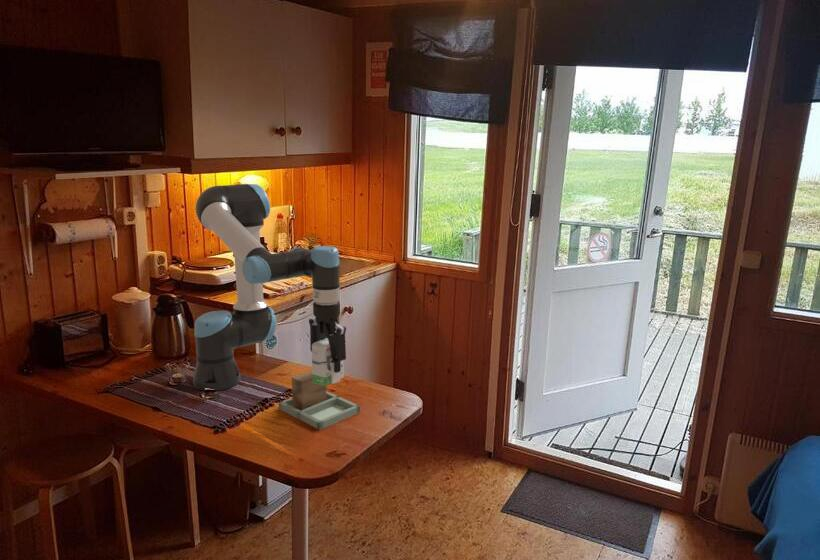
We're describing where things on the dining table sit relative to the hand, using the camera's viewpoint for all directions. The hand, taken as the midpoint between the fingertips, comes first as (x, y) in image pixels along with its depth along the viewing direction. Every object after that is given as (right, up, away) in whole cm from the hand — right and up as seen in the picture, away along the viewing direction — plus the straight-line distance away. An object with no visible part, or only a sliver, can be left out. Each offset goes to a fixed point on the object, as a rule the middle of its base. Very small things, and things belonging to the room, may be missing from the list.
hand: (328, 378), depth 174 cm
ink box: (0, -1, 0) cm, 1 cm away
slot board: (-4, -11, +6) cm, 13 cm away
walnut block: (-7, -10, +9) cm, 15 cm away
